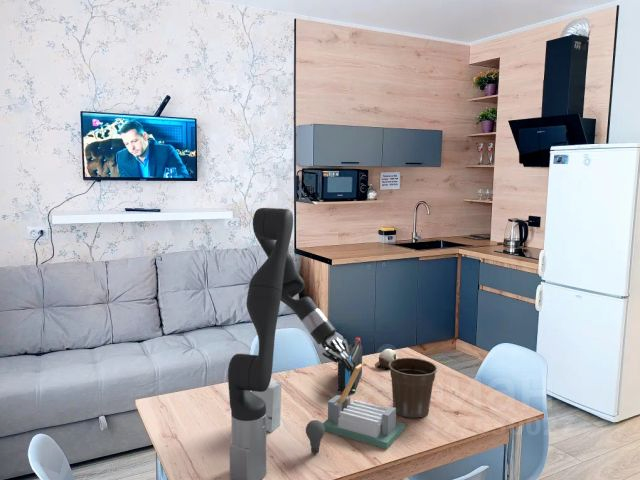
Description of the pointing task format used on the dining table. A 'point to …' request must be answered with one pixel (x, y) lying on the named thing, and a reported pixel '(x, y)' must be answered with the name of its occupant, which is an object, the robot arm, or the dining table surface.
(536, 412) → the dining table surface
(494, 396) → the dining table surface
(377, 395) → the dining table surface
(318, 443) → the light bulb
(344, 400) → the retention strap
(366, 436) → the base
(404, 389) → the plant pot
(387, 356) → the skull
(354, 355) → the game console
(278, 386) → the skincare box
